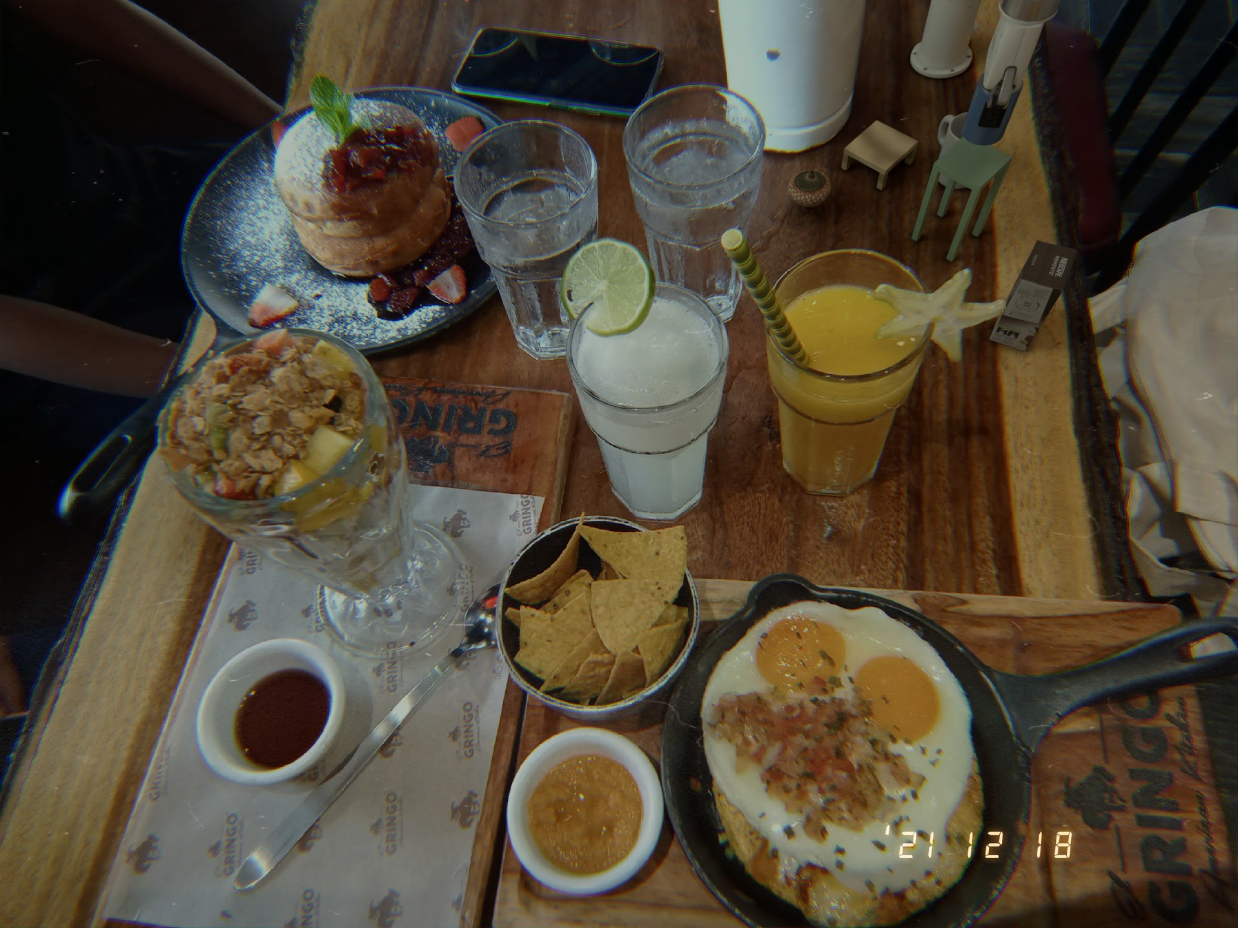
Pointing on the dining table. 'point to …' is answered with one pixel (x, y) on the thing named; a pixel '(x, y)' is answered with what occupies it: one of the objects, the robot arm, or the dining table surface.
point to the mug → (950, 139)
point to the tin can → (970, 126)
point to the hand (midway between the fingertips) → (990, 109)
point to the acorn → (809, 188)
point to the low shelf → (880, 150)
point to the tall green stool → (972, 171)
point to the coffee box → (1034, 294)
